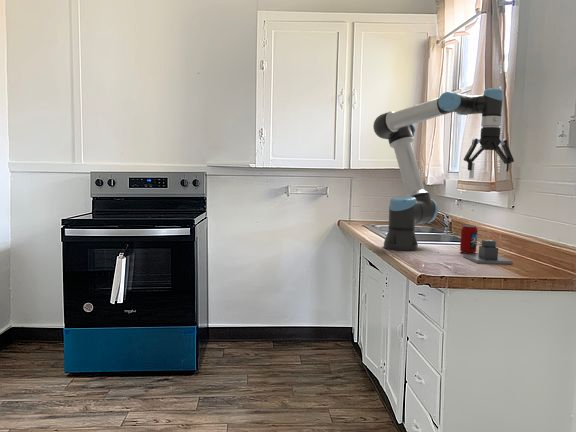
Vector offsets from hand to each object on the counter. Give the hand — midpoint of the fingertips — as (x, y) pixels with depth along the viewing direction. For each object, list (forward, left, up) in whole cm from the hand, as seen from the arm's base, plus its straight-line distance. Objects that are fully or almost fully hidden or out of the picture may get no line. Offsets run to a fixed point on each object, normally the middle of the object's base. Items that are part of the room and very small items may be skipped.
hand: (487, 179), depth 209 cm
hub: (+9, -2, -33) cm, 34 cm away
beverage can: (-10, -2, -33) cm, 34 cm away
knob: (+9, -2, -31) cm, 33 cm away
